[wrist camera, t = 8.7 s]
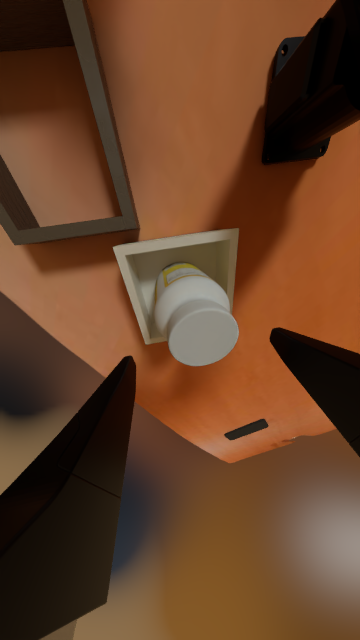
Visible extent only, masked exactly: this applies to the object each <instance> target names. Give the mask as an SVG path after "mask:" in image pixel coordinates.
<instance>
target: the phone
mask: <svg viewBox="0 0 360 640" xmlns="http://www.w3.org/2000/svg"><path fill="white" fill-rule="evenodd" d="M267 427H268V424H267V422H266V421H265V419H260V420H258V421H255V422H253V423H250V424H248V425H245V426H243V427H240V428H238V429H235V430H233V431H230V432H228V433H225V434H224V435H225V437H226V438H228V439H229V440H234V439H237V438H240V437H243V436H245V435H248V434H251V433H253V432H256V431H259V430H262V429H264V428H267Z"/></svg>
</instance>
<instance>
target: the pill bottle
mask: <svg viewBox="0 0 360 640" xmlns="http://www.w3.org/2000/svg"><path fill="white" fill-rule="evenodd" d="M154 318H155V323H156V326H157V329H158V330H159V332H160V334H161V335H162V336H163V337H164V338H165V339H166V340H168V346H169V350H170V352H171V354H172V355H173V357H174V358H175V359H176V360H178V361H179V362H181V363H183V364H186V365H190V366H204V365H208V364H212V363H214V362H216V361H218V360H220V359H222V358H223V357H225V356H226V355H227V354H228V353H229V352H230V351H231V350H232V349H233V347H234V346H235V344H236V342H237V339H238V334H239V330H238V325H237V322H236V320H235V319H234V318H233V316H232V315H231V314H230V304H229V300H228V297H227V295H226V293H225V291H224V290H223V289H222V288H221V286H219V285H218V284H217V283H216V282H215V281H214V280H212V279H211V278H210V277H208V276H207V275H206V274H205V273H203V272H202V271H201V270H199V269H198V268H197V267H196V266H194V265H192V264H190V263H187V262H175V263H172V264H170V265H168V266H166V267H165V268H164V269H163V270H162V271H161V272H160V274H159V275H158V277H157V280H156V284H155V303H154Z"/></svg>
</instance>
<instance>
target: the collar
mask: <svg viewBox="0 0 360 640" xmlns="http://www.w3.org/2000/svg"><path fill="white" fill-rule="evenodd" d="M72 45H75V46H76V50H77V53H78V57H79V61H80V64H81V68H82V72H83V75H84V79H85V82H86V86H87V90H88V93H89V97H90V100H91V104H92V108H93V111H94V115H95V118H96V122H97V126H98V129H99V133H100V137H101V140H102V144H103V147H104V151H105V155H106V158H107V162H108V165H109V169H110V173H111V176H112V180H113V184H114V187H115V191H116V194H117V198H118V202H119V205H120V209H121V212H122V216H119V217H112V218H105V219H98V220H91V221H84V222H76V223H69V224H62V225H55V226H48V227H41V228H40V226H39V224H38V223H37V221H36V219H35V217H34V215H33V213H32V212H31V210H30V208H29V206H28V204H27V203H26V201H25V199H24V197H23V195H22V193H21V192H20V190H19V188H18V186H17V184H16V182H15V181H14V179H13V177H12V175H11V173H10V172H9V170H8V168H7V166H6V164H5V162H4V161H3V159H2V157H1V155H0V224H1V225H2V227H3V228H4V230H5V231H6V233H7V234H8V236H9V237H10V239H11V240H12V242H13V243H14V245H25V244H38V243H45V242H52V241H59V240H66V239H73V238H80V237H87V236H94V235H101V234H107V233H114V232H121V231H128V230H135V229H140V225H139V221H138V217H137V213H136V208H135V204H134V200H133V195H132V191H131V187H130V182H129V178H128V174H127V169H126V165H125V161H124V156H123V152H122V148H121V143H120V139H119V135H118V130H117V126H116V122H115V117H114V113H113V109H112V104H111V100H110V96H109V91H108V87H107V83H106V79H105V74H104V70H103V66H102V61H101V57H100V53H99V48H98V44H97V40H96V35H95V31H94V27H93V22H92V18H91V14H90V11H89V8H88V4H87V1H86V0H0V51H10V50H23V49H35V48H47V47H60V46H72Z"/></svg>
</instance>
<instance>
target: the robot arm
mask: <svg viewBox="0 0 360 640" xmlns="http://www.w3.org/2000/svg"><path fill="white" fill-rule="evenodd" d="M282 50H283V51H284V57H283V56H282ZM359 120H360V0H336V1H335V3H334V4H333V5H332V6H331V8H330V9H329V10H328V12H327V13H326V14H325V16H324V17H323V18H319V19H318V20H317V22H316V23H315V24H314V26H313V27H312V28H311V30H310V31H309V32H308V34H307V35H306V36H303V37H292V38H285V39H284V40H283V41H282V42H281V44H280V45H279V47H278V49H277V51H276V54H275V60H274V67H273V75H272V82H271V84H270V89H269V97H268V105H267V113H266V121H265V129H264V130H265V138H264V146H263V154H262V163H263V164H264V165H270V164H278V163H286V162H293V161H301V160H309V159H317V158H319V157H321V156H323V155H324V154H325V153H326V151H327V148H328V145H329V141H330V138H331V136H332V135H334V134H336V133H337V132H339V131H341V130H343V129H344V128H346V127H348V126H350V125H352V124H353V123H355V122H357V121H359ZM320 149H321V152H320ZM267 154H268V155H269V160H268V159H267ZM270 342H271V344H272V345H273V347H274V348H275V350H276V351H277V353H278V354H279V356H280V358H281V359H282V360H283V362H284V363H285V365H286V366H287V367H288V368H289V370H290V371H291V372H292V373H293V375H294V376H295V377H296V378H297V380H298V381H299V382H300V383H301V385H302V386H303V387H304V388H305V390H306V391H307V392H308V393H309V395H310V396H311V397H312V398H313V400H314V401H315V402H316V403H317V404H318V406H319V407H320V408H321V409H322V411H323V412H324V413H325V414H326V416H327V417H328V418H329V419H330V421H331V422H332V423H333V424H334V426H335V427H336V428H337V429H338V430H339V432H340V433H341V434H342V436H343V437H344V438H345V439H346V441H347V442H348V443H349V445H350V446H351V447H352V448H353V450H354V451H355V452H356V453H357V455H358V456H359V457H360V354H359V353H356V352H353V351H350V350H347V349H344V348H341V347H338V346H335V345H331V344H328V343H325V342H322V341H319V340H316V339H313V338H310V337H307V336H304V335H301V334H298V333H295V332H292V331H289V330H286V329H283V328H280V327H278V328H273V329H272V331H271V335H270ZM135 392H136V364H135V362H134V360H133V357H132V356H125V357H124V358H123V359H122V360H121V361H120V363H119V364H118V365H117V366H116V367H115V368H114V370H113V371H112V372H111V373H110V374H109V375H108V377H107V378H106V379H105V380H104V381H103V383H102V384H101V385H100V386H99V387H98V388H97V390H96V391H95V392H94V393H93V394H92V396H91V397H90V398H89V399H88V400H87V402H86V403H85V404H84V405H83V406H82V407H81V409H80V410H79V411H78V413H76V414H75V416H74V417H73V418H72V419H71V420H70V422H69V423H68V424H67V425H66V426H65V427H64V428H63V429H62V431H61V432H60V433H59V434H58V435H57V436H56V437H55V438H54V439H53V441H52V442H51V443H50V444H49V445H48V446H47V447H46V448H45V449H44V450H43V451H42V452H41V453H40V454H39V455H38V456H37V458H36V459H35V460H34V461H33V462H32V463H31V464H30V465H29V466H28V467H27V468H26V469H25V470H24V471H23V472H22V473H21V474H20V476H18V478H17V479H16V480H15V481H14V482H13V483H12V484H11V485H10V486H9V487H8V488H7V489H6V490H5V491H4V492H3V493H2V494H1V495H0V640H73V635H74V630H75V626H76V621H77V619H78V618H80V617H82V616H84V615H85V614H87V613H89V612H91V611H93V610H94V609H96V608H98V607H100V606H102V605H104V604H105V603H106V602H107V596H108V590H109V582H110V575H111V568H112V561H113V553H114V546H115V539H116V532H117V524H118V517H119V510H120V503H121V495H122V487H123V479H124V473H125V465H126V458H127V451H128V443H129V437H130V429H131V422H132V415H133V407H134V401H135Z"/></svg>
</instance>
